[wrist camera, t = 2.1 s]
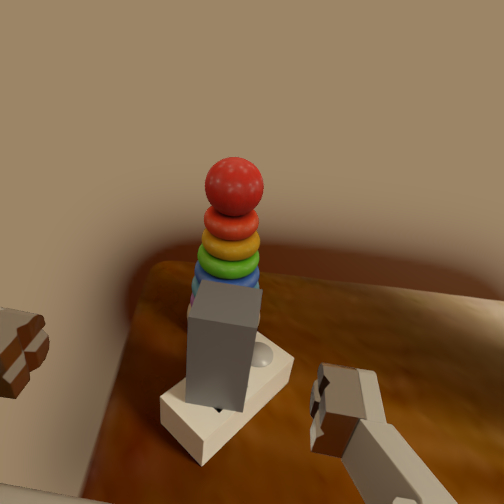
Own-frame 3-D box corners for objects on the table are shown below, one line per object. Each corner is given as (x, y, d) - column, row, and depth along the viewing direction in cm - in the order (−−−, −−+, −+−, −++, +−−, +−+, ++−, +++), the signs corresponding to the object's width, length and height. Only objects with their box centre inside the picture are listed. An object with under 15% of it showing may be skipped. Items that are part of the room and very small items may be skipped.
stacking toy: (190, 295, 45) (196, 138, 35) (257, 299, 46) (281, 147, 36) (182, 345, 38) (186, 171, 28) (260, 350, 39) (292, 181, 29)
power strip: (248, 352, 39) (253, 326, 37) (287, 382, 36) (294, 356, 34) (160, 422, 31) (159, 395, 29) (201, 466, 29) (203, 439, 27)
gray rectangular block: (239, 429, 30) (257, 328, 24) (184, 419, 30) (187, 316, 24) (246, 387, 34) (262, 289, 28) (196, 378, 34) (201, 279, 28)
